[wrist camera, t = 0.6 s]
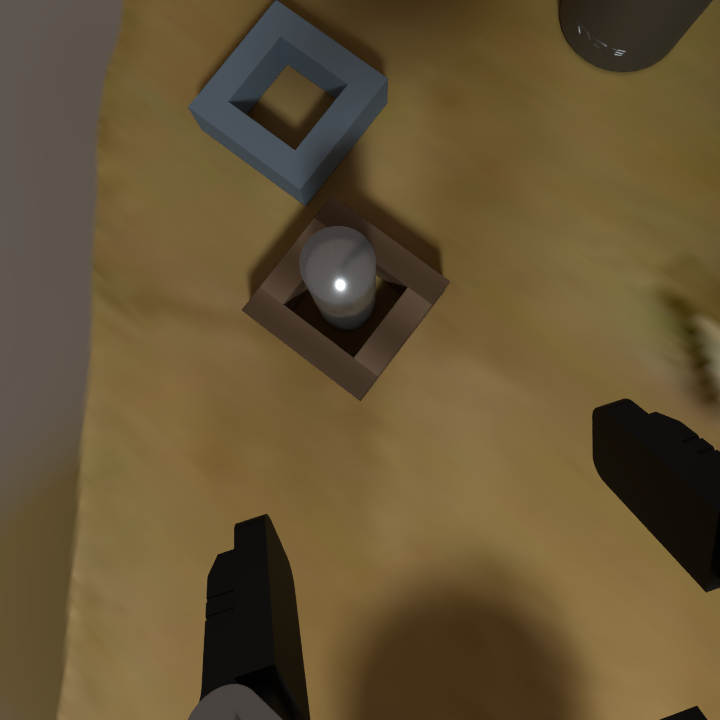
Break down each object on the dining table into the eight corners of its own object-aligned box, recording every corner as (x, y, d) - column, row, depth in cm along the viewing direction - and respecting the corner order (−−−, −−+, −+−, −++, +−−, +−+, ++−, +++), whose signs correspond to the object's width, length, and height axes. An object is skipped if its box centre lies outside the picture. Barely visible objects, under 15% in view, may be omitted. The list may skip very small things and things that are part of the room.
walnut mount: (335, 211, 39) (332, 195, 36) (444, 291, 38) (449, 281, 36) (251, 317, 39) (241, 310, 36) (360, 401, 38) (359, 400, 35)
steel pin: (342, 267, 39) (330, 211, 28) (386, 299, 39) (391, 255, 28) (309, 309, 39) (283, 270, 28) (352, 342, 38) (344, 316, 27)
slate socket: (283, 29, 41) (276, -1, 38) (386, 103, 40) (388, 78, 37) (201, 129, 40) (187, 107, 37) (305, 206, 39) (300, 189, 36)
